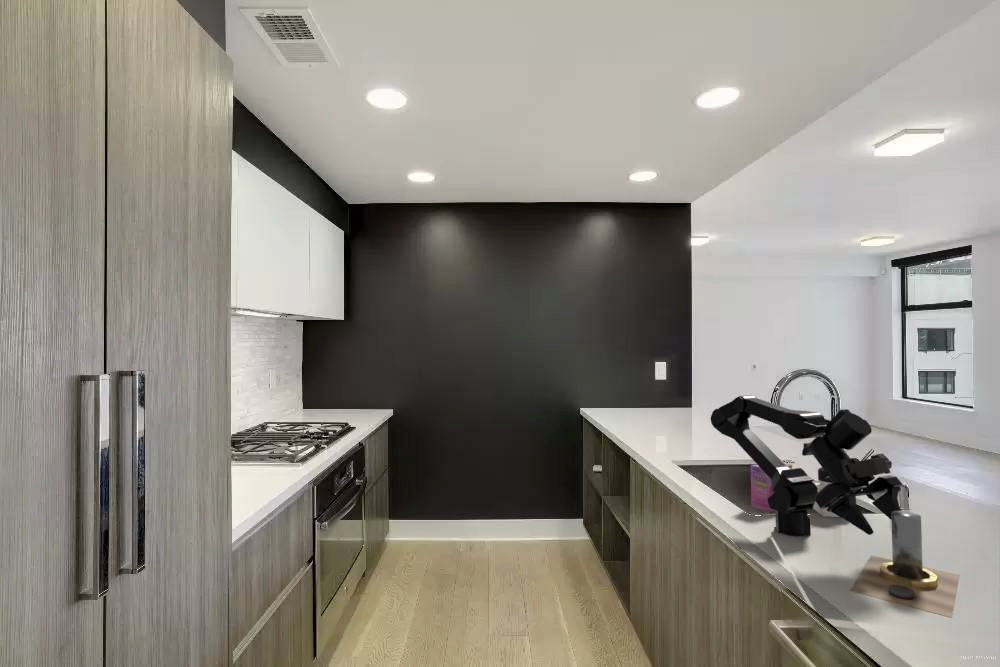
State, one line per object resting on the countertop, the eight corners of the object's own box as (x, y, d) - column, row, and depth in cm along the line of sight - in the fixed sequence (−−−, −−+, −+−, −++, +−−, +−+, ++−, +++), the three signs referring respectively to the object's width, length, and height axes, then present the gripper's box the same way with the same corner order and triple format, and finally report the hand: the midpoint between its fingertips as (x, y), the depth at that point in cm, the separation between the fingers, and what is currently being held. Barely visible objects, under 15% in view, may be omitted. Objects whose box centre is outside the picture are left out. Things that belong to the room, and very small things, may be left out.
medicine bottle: (853, 518, 135) (852, 471, 135) (822, 517, 136) (821, 470, 137) (841, 509, 142) (840, 465, 142) (812, 508, 143) (811, 464, 144)
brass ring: (891, 585, 97) (891, 578, 97) (873, 566, 105) (873, 560, 105) (946, 591, 94) (946, 584, 94) (923, 571, 102) (923, 564, 102)
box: (769, 513, 140) (768, 468, 140) (750, 507, 145) (749, 464, 146) (794, 506, 145) (792, 464, 145) (774, 501, 150) (773, 460, 150)
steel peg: (890, 577, 100) (888, 514, 100) (896, 570, 103) (894, 509, 103) (920, 585, 96) (918, 520, 96) (925, 577, 99) (923, 514, 99)
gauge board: (951, 622, 85) (951, 611, 85) (850, 594, 95) (849, 584, 95) (959, 579, 100) (959, 569, 100) (871, 559, 110) (870, 550, 110)
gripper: (826, 444, 105) (883, 517, 94) (892, 437, 111) (952, 505, 100) (794, 473, 112) (843, 544, 102) (857, 465, 118) (909, 531, 108)
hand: (888, 530), depth 103 cm, fingers open, 9 cm apart
